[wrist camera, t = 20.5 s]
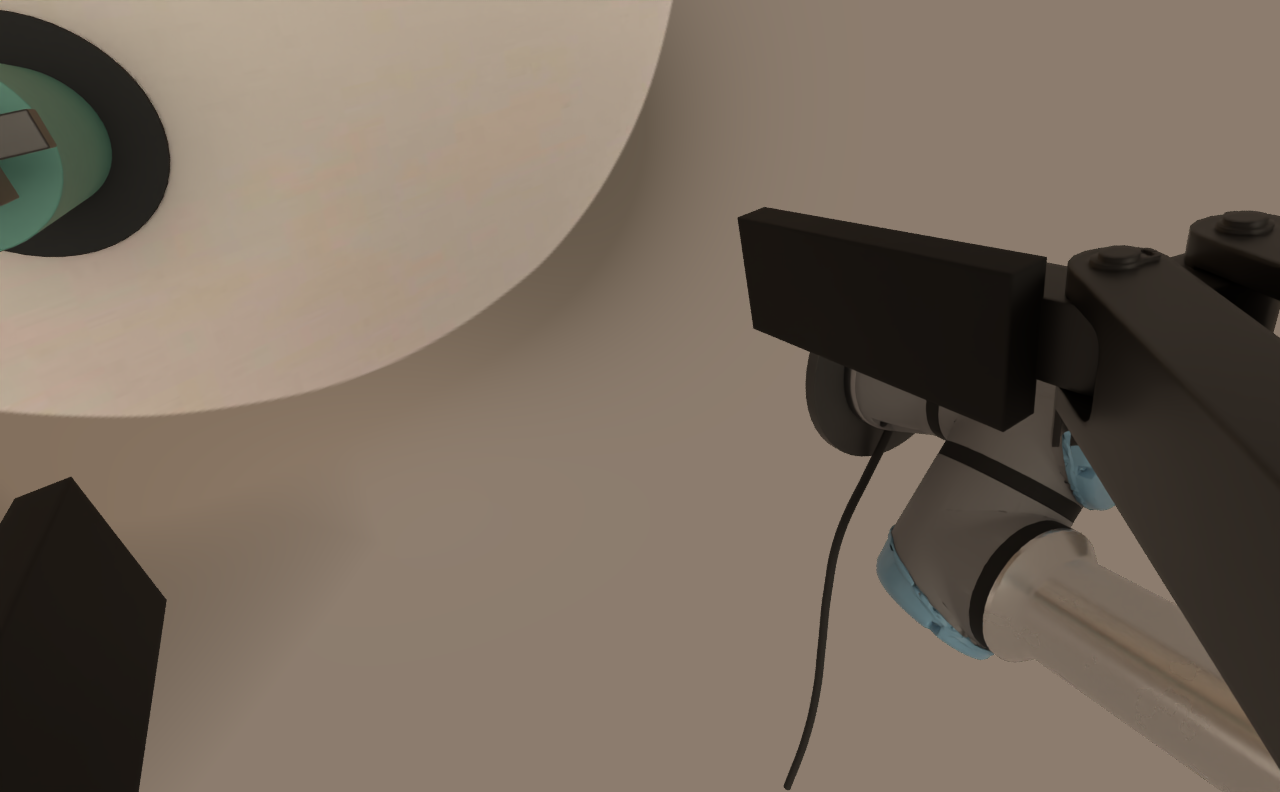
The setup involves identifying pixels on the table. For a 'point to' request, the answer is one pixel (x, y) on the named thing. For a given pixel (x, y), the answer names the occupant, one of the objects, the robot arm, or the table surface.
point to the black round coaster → (128, 125)
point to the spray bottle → (45, 152)
